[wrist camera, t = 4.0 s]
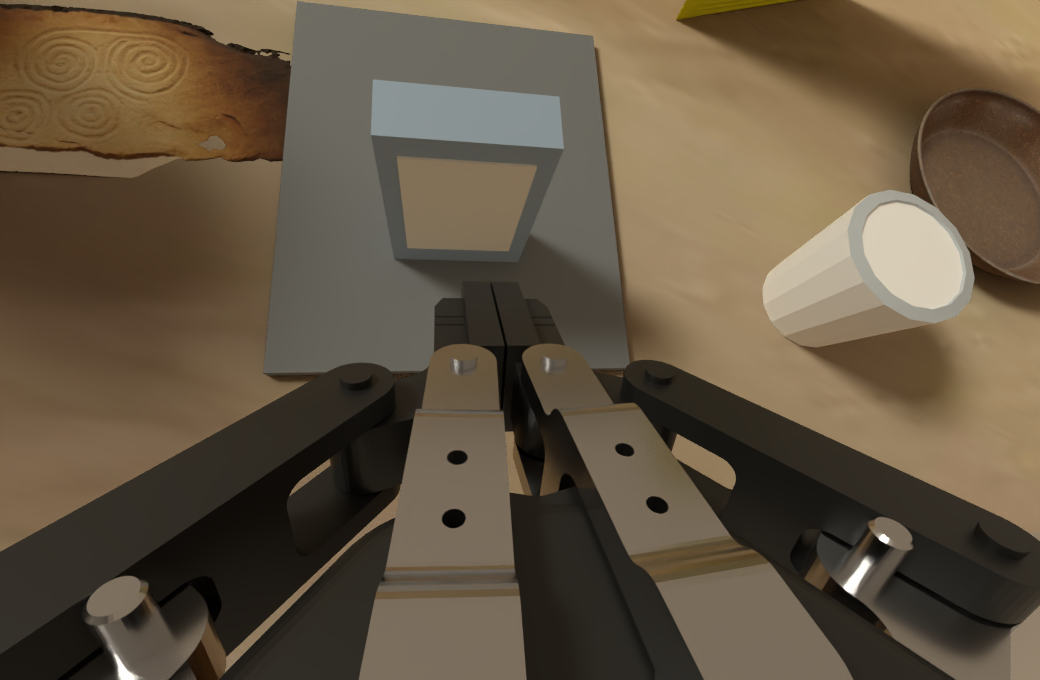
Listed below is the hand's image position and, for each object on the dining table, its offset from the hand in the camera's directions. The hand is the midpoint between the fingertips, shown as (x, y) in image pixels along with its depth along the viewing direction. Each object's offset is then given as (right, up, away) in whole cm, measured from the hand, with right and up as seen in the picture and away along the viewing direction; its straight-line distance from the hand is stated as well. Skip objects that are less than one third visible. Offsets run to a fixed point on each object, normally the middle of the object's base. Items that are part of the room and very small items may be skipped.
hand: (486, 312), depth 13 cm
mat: (-3, +8, +14) cm, 16 cm away
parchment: (-21, +12, +12) cm, 27 cm away
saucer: (+34, +9, +21) cm, 41 cm away
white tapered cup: (+18, +1, +16) cm, 24 cm away
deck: (-2, +5, +12) cm, 13 cm away
